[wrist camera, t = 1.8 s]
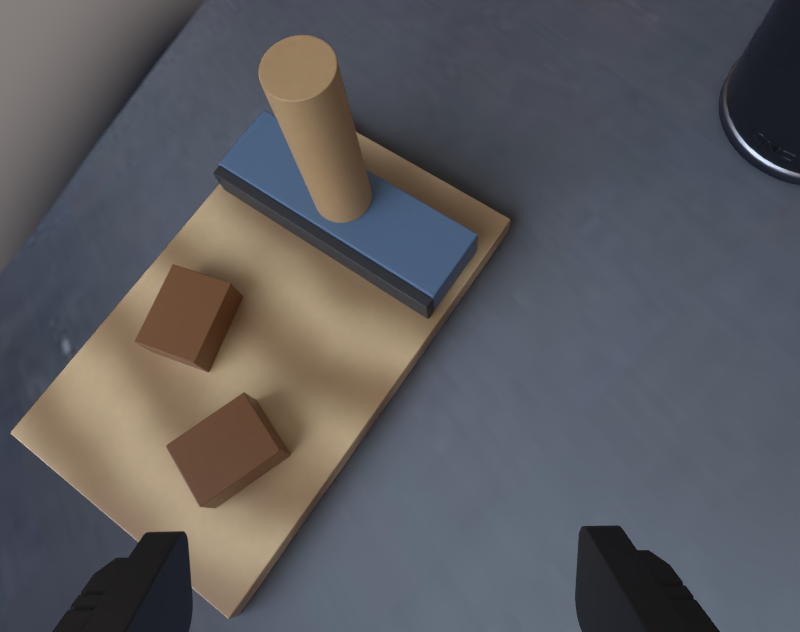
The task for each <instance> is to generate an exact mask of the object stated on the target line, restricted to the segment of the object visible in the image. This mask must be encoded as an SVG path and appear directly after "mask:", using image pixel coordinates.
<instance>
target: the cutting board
mask: <svg viewBox="0 0 800 632" xmlns="http://www.w3.org/2000/svg"><path fill="white" fill-rule="evenodd" d="M356 134H357V137H358V141H359V145H360V149H361V153H362V157H363V160H364V164H365V168H366V170H368V171H370V172H372V173H373V174H375V175H377V176H378V177H380V178H382V179H384V180H385V181H387V182H389V183H390V184H392V185H394V186H396V187H397V188H399V189H401V190H402V191H404V192H406V193H408V194H409V195H411V196H413V197H414V198H416V199H418V200H420V201H421V202H423V203H425V204H426V205H428V206H430V207H432V208H433V209H435V210H437V211H438V212H440V213H442V214H444V215H445V216H447V217H449V218H450V219H452V220H454V221H456V222H457V223H459V224H461V225H462V226H464V227H466V228H468V229H469V230H471V231H473V232H474V233H476V234H477V235H478V242H477V252H476V253H475V254H474V256H473V257H472V259H471V260H470V261H469V263H468V264H467V266H466V267H465V268H464V270H463V271H462V273H461V274H460V275H459V277H458V278H457V280H456V281H455V283H454V284H453V285H452V287H451V288H450V290H449V291H448V292H447V294H446V295H445V297H444V298H443V299H442V301H441V302H440V304H439V305H438V306H437V308H436V309H434V312H433V314H432V315H431V316H430V318H429V319H427V318H425V317H424V316H422V315H421V314H419V313H417V312H416V311H414V310H413V309H411V308H409V307H408V306H406V305H405V304H403V303H402V302H400V301H398V300H397V299H395V298H394V297H392V296H391V295H389V294H387V293H386V292H384V291H383V290H381V289H380V288H378V287H376V286H375V285H373V284H372V283H370V282H369V281H367V280H365V279H364V278H362V277H361V276H359V275H358V274H356V273H354V272H353V271H351V270H350V269H348V268H347V267H345V266H343V265H342V264H340V263H339V262H337V261H336V260H334V259H332V258H331V257H329V256H328V255H326V254H325V253H323V252H321V251H320V250H318V249H317V248H315V247H314V246H312V245H310V244H309V243H307V242H306V241H304V240H303V239H301V238H299V237H298V236H296V235H295V234H293V233H292V232H290V231H288V230H287V229H285V228H284V227H282V226H281V225H279V224H277V223H276V222H274V221H273V220H271V219H270V218H268V217H266V216H265V215H263V214H262V213H260V212H259V211H257V210H255V209H254V208H252V207H251V206H249V205H248V204H246V203H244V202H243V201H241V200H240V199H238V198H237V197H235V196H233V195H232V194H230V193H229V192H227V191H226V190H224V189H223V187H222V186H221V184H219V185H218V186H217V187H216V189H215V190H214V191H213V192H212V193H211V195H210V196H209V197H208V198H207V199H206V201H205V202H204V203H203V204H202V205H201V207H200V208H199V209H198V210H197V211H196V212H195V214H194V215H193V216H192V217H191V218H190V220H189V221H188V222H187V223H186V224H185V226H184V227H183V228H182V229H181V230H180V231H179V233H178V234H177V235H176V236H175V237H174V239H173V240H172V241H171V242H170V243H169V245H168V246H167V247H166V248H165V249H164V251H163V252H162V253H161V254H160V255H159V256H158V258H157V259H156V260H155V261H154V262H153V264H152V265H151V266H150V267H149V268H148V270H147V271H146V272H145V273H144V274H143V276H142V277H141V278H140V279H139V280H138V281H137V283H136V284H135V285H134V286H133V287H132V289H131V290H130V291H129V292H128V293H127V295H126V296H125V297H124V298H123V299H122V300H121V302H120V303H119V304H118V305H117V306H116V308H115V309H114V310H113V311H112V312H111V314H110V315H109V316H108V317H107V318H106V320H105V321H104V322H103V323H102V324H101V325H100V327H99V328H98V329H97V330H96V331H95V333H94V334H93V335H92V336H91V337H90V339H89V340H88V341H87V342H86V343H85V345H84V346H83V347H82V348H81V349H80V350H79V352H78V353H77V354H76V355H75V356H74V358H73V359H72V360H71V361H70V362H69V364H68V365H67V366H66V367H65V368H64V369H63V371H62V372H61V373H60V374H59V375H58V377H57V378H56V379H55V380H54V381H53V383H52V384H51V385H50V386H49V387H48V389H47V390H46V391H45V392H44V393H43V394H42V396H41V397H40V398H39V399H38V400H37V402H36V403H35V404H34V405H33V406H32V408H31V409H30V410H29V411H28V412H27V414H26V415H25V416H24V417H23V418H22V419H21V421H20V422H19V423H18V424H17V425H16V427H15V428H14V429H13V430H12V431H11V434H12V435H13V436H14V437H15V438H16V439H18V440H19V441H20V442H21V443H22V444H24V445H25V446H26V447H27V448H28V449H29V450H31V451H32V452H33V453H34V454H35V455H36V456H38V457H39V458H40V459H41V460H42V461H43V462H45V463H46V464H47V465H48V466H49V467H50V468H52V469H53V470H54V471H55V472H56V473H58V474H59V475H60V476H61V477H62V478H63V479H65V480H66V481H67V482H68V483H69V484H70V485H72V486H73V487H74V488H75V489H76V490H77V491H79V492H80V493H81V494H82V495H83V496H84V497H86V498H87V499H88V500H89V501H90V502H91V503H93V504H94V505H95V506H96V507H97V508H99V509H100V510H101V511H102V512H103V513H104V514H106V515H107V516H108V517H109V518H110V519H111V520H113V521H114V522H115V523H116V524H117V525H118V526H120V527H121V528H122V529H123V530H124V531H125V532H127V533H128V534H129V535H130V536H131V537H133V538H134V539H135V540H136V541H137V542H138V543H139V541H140V540H141V538H142V537H143V535H144V534H145V533H146V532H170V531H184V532H185V533H186V535H187V538H188V545H189V558H190V572H191V586H192V589H193V590H195V591H196V592H197V593H198V594H199V595H201V596H202V597H203V598H204V599H205V600H206V601H208V602H209V603H210V604H211V605H212V606H213V607H215V608H216V609H217V610H218V611H219V612H220V613H222V614H223V615H224V616H225V617H226V618H228V619H230V618H232V617H235V616H238V615H239V614H240V613H241V612H242V610H243V609H244V607H245V606H246V604H247V603H248V602H249V600H250V599H251V597H252V596H253V595H254V593H255V592H256V590H257V589H258V587H259V586H260V585H261V583H262V582H263V580H264V579H265V577H266V576H267V575H268V573H269V572H270V570H271V569H272V567H273V566H274V565H275V563H276V562H277V560H278V559H279V558H280V556H281V555H282V553H283V552H284V550H285V549H286V548H287V546H288V545H289V543H290V542H291V540H292V539H293V538H294V536H295V535H296V533H297V532H298V531H299V529H300V528H301V526H302V525H303V523H304V522H305V521H306V519H307V518H308V516H309V515H310V513H311V512H312V511H313V509H314V508H315V506H316V505H317V504H318V502H319V501H320V499H321V498H322V496H323V495H324V494H325V492H326V491H327V489H328V488H329V486H330V485H331V484H332V482H333V481H334V479H335V478H336V477H337V475H338V474H339V472H340V471H341V469H342V468H343V467H344V465H345V464H346V462H347V461H348V459H349V458H350V457H351V455H352V454H353V452H354V451H355V449H356V448H357V447H358V445H359V444H360V442H361V441H362V440H363V438H364V437H365V435H366V434H367V432H368V431H369V430H370V428H371V427H372V425H373V424H374V422H375V421H376V420H377V418H378V417H379V415H380V414H381V413H382V411H383V410H384V408H385V407H386V405H387V404H388V403H389V401H390V400H391V398H392V397H393V395H394V394H395V393H396V391H397V390H398V388H399V387H400V386H401V384H402V383H403V381H404V380H405V378H406V377H407V376H408V374H409V373H410V371H411V370H412V368H413V367H414V366H415V364H416V363H417V361H418V360H419V359H420V357H421V356H422V354H423V353H424V351H425V350H426V349H427V347H428V346H429V344H430V343H431V341H432V340H433V339H434V337H435V336H436V334H437V333H438V332H439V330H440V329H441V327H442V326H443V324H444V323H445V322H446V320H447V319H448V317H449V316H450V314H451V313H452V312H453V310H454V309H455V307H456V306H457V304H458V303H459V302H460V300H461V299H462V297H463V296H464V295H465V293H466V292H467V290H468V289H469V287H470V286H471V285H472V283H473V282H474V280H475V279H476V277H477V276H478V275H479V273H480V272H481V270H482V269H483V268H484V266H485V265H486V263H487V262H488V260H489V259H490V258H491V256H492V255H493V253H494V252H495V250H496V249H497V248H498V246H499V245H500V243H501V242H502V241H503V239H504V238H505V236H506V235H507V233H508V232H509V227H510V219H509V218H507V217H506V216H504V215H502V214H500V213H499V212H497V211H495V210H493V209H492V208H490V207H488V206H486V205H485V204H483V203H481V202H479V201H477V200H476V199H474V198H472V197H470V196H469V195H467V194H465V193H463V192H462V191H460V190H458V189H456V188H455V187H453V186H451V185H449V184H448V183H446V182H444V181H442V180H441V179H439V178H437V177H435V176H433V175H432V174H430V173H428V172H426V171H425V170H423V169H421V168H419V167H418V166H416V165H414V164H412V163H411V162H409V161H407V160H405V159H404V158H402V157H400V156H398V155H397V154H395V153H393V152H391V151H389V150H388V149H386V148H384V147H382V146H381V145H379V144H377V143H375V142H374V141H372V140H370V139H368V138H367V137H365V136H363V135H361V134H360V133H358V132H356ZM173 264H175V265H178V266H181V267H184V268H187V269H190V270H193V271H196V272H199V273H202V274H205V275H208V276H211V277H214V278H217V279H220V280H223V281H226V282H229V283H231V284H232V285H233V286H234V287H235V288H236V289H237V290H238V291H239V292H240V293H241V295H242V296H243V298H242V301H241V303H240V305H239V307H238V309H237V312H236V314H235V316H234V318H233V320H232V323H231V325H230V327H229V329H228V331H227V334H226V336H225V338H224V340H223V342H222V345H221V347H220V349H219V351H218V353H217V356H216V358H215V360H214V362H213V364H212V366H211V369H210V371H209V372H205V371H203V370H200V369H197V368H194V367H191V366H189V365H186V364H183V363H180V362H178V361H175V360H172V359H169V358H166V357H164V356H161V355H158V354H155V353H153V352H151V351H149V350H147V349H146V348H144V347H142V346H140V345H139V344H137V343H135V339H136V337H137V335H138V333H139V331H140V329H141V327H142V325H143V323H144V321H145V319H146V317H147V315H148V313H149V311H150V309H151V307H152V305H153V303H154V301H155V299H156V297H157V295H158V293H159V291H160V289H161V287H162V285H163V283H164V281H165V279H166V277H167V275H168V273H169V271H170V269H171V266H172V265H173ZM244 392H245V393H246V394H248V395H249V396H251V397H252V398H254V399H256V400H257V401H258V403H259V405H260V406H261V408H262V409H263V411H264V413H265V414H266V416H267V417H268V419H269V421H270V422H271V424H272V425H273V427H274V428H275V430H276V432H277V433H278V435H279V436H280V438H281V440H282V441H283V443H284V444H285V446H286V448H287V449H288V451H289V452H290V456H289V457H288V458H286V459H285V460H284V461H282V462H281V463H279V464H278V465H276V466H275V467H274V468H272V469H271V470H269V471H268V472H267V473H265V474H264V475H262V476H261V477H259V478H258V479H257V480H255V481H254V482H252V483H251V484H250V485H248V486H247V487H245V488H244V489H242V490H241V491H240V492H238V493H237V494H235V495H234V496H233V497H231V498H230V499H228V500H227V501H225V502H224V503H223V504H221V505H220V506H218V507H217V508H204V507H199V505H198V503H197V502H196V500H195V498H194V496H193V494H192V493H191V491H190V489H189V487H188V486H187V484H186V482H185V480H184V478H183V477H182V475H181V473H180V471H179V469H178V468H177V466H176V464H175V462H174V460H173V459H172V457H171V455H170V453H169V451H168V450H167V448H166V445H168V444H169V443H170V442H172V441H173V440H175V439H176V438H178V437H179V436H181V435H182V434H184V433H185V432H187V431H188V430H189V429H191V428H192V427H194V426H195V425H197V424H198V423H200V422H201V421H203V420H204V419H205V418H207V417H208V416H210V415H211V414H213V413H214V412H216V411H217V410H219V409H220V408H222V407H223V406H224V405H226V404H227V403H229V402H230V401H232V400H233V399H235V398H236V397H238V396H239V395H241V394H242V393H244Z"/></svg>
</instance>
